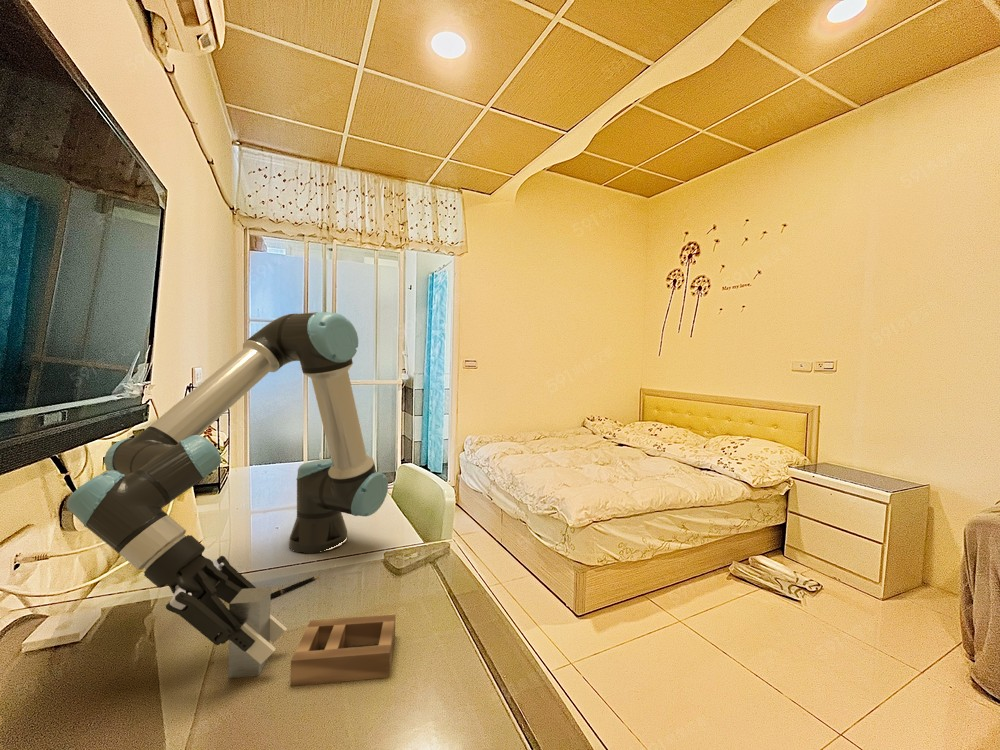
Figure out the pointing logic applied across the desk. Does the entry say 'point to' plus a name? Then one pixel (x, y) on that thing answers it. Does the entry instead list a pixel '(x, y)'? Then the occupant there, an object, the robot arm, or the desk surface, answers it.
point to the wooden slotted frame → (344, 650)
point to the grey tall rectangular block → (256, 613)
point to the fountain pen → (290, 588)
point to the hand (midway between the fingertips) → (274, 645)
